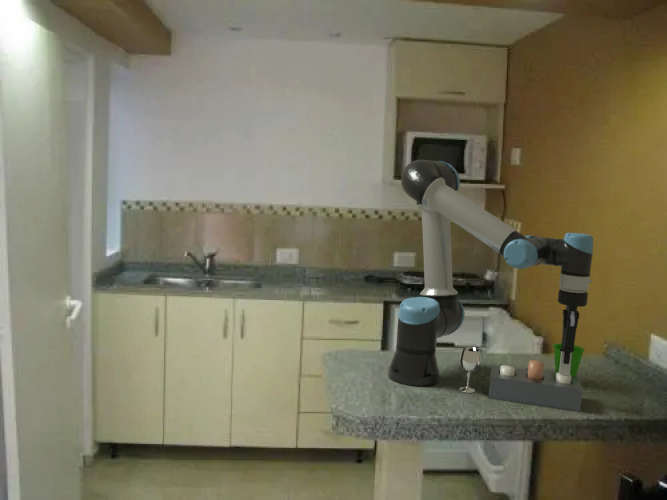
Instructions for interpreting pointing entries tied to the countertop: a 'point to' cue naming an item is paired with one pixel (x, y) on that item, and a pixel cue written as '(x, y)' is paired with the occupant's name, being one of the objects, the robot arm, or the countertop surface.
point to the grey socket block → (535, 389)
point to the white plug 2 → (563, 378)
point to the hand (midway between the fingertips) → (564, 373)
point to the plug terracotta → (535, 369)
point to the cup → (574, 362)
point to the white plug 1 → (507, 370)
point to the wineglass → (469, 364)
